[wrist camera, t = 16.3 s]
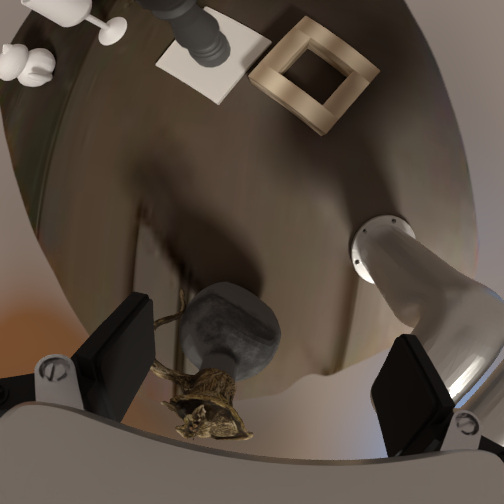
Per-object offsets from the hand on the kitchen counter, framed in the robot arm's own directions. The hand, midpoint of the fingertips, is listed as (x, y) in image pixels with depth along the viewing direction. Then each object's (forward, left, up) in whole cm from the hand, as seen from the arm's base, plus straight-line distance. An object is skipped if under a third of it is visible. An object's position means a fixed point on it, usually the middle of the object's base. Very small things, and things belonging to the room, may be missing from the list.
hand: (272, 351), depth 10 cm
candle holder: (+24, -13, -38) cm, 46 cm away
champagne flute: (+46, -8, -38) cm, 60 cm away
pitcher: (-5, +20, -38) cm, 44 cm away
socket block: (+8, -19, -38) cm, 43 cm away
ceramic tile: (+24, -13, -38) cm, 47 cm away
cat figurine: (+58, +6, -38) cm, 70 cm away
